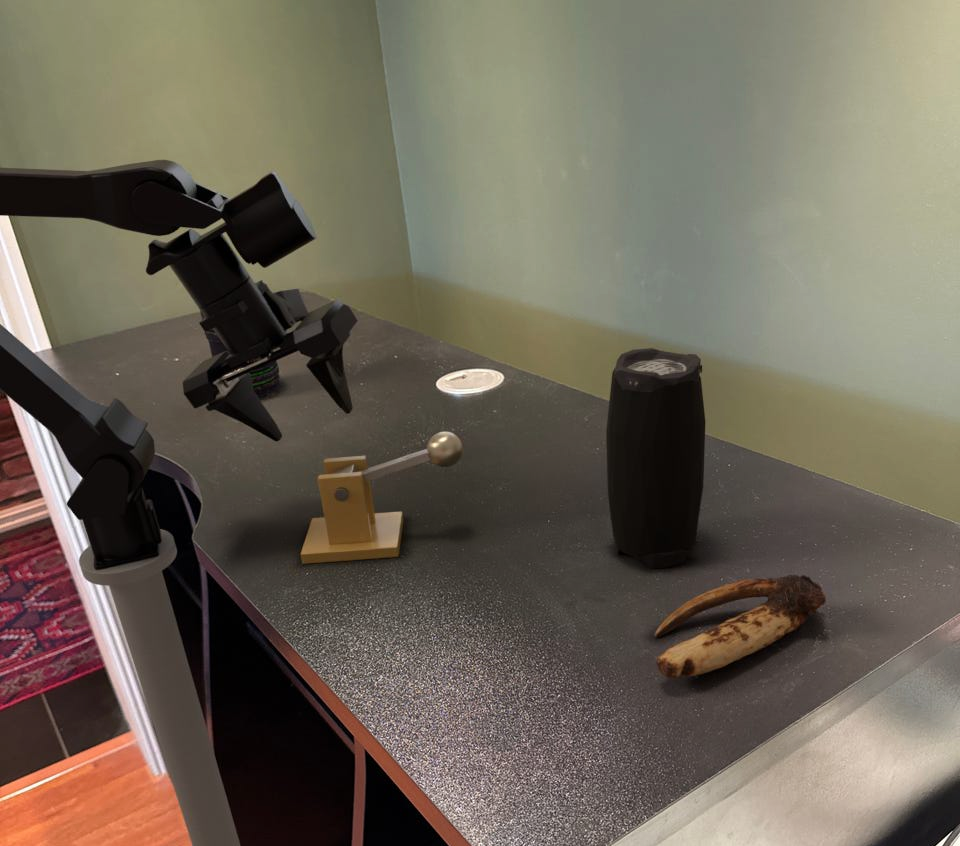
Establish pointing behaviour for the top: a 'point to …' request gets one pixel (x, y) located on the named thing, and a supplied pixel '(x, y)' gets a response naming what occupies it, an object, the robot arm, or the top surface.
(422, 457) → the tap lever
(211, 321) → the robot arm
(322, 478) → the tap bracket
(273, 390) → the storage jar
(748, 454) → the top surface
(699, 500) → the portable speaker
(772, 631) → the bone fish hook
